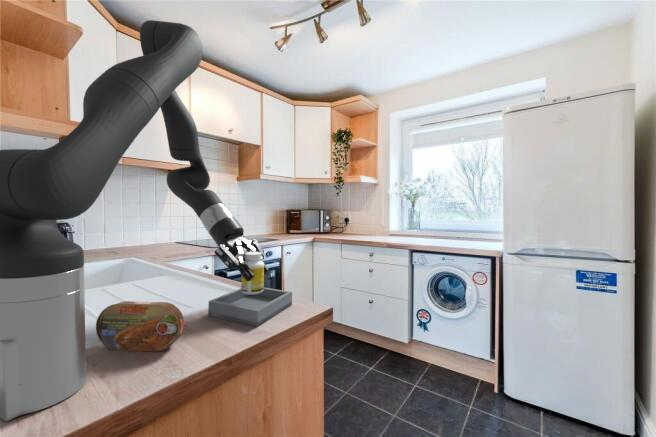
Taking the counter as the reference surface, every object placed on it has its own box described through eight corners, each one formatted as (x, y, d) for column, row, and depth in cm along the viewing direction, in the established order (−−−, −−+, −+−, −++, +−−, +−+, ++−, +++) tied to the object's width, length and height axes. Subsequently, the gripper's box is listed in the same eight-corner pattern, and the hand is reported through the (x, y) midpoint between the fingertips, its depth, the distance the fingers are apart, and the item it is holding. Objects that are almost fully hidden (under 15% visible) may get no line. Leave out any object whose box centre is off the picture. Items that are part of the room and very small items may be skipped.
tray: (257, 327, 62) (258, 311, 62) (208, 315, 67) (208, 301, 67) (291, 304, 76) (292, 292, 76) (248, 297, 81) (248, 284, 81)
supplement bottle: (266, 289, 74) (267, 251, 73) (259, 295, 68) (260, 255, 68) (246, 287, 74) (246, 250, 74) (237, 294, 69) (238, 254, 68)
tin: (94, 349, 51) (93, 303, 50) (108, 341, 54) (108, 297, 54) (177, 353, 51) (177, 306, 50) (186, 344, 54) (186, 300, 53)
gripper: (208, 216, 66) (249, 273, 63) (247, 214, 80) (283, 261, 76) (191, 237, 69) (230, 293, 65) (232, 231, 82) (266, 278, 78)
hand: (259, 275), depth 70 cm, fingers closed on supplement bottle, 5 cm apart
